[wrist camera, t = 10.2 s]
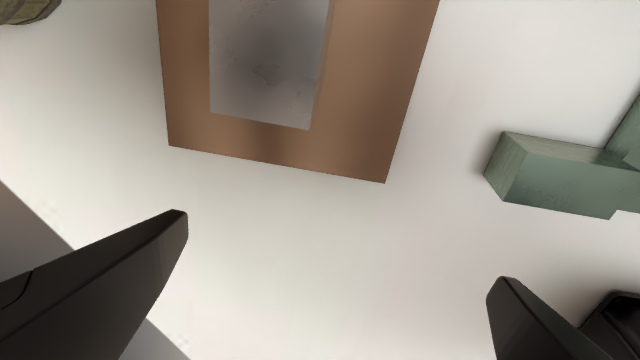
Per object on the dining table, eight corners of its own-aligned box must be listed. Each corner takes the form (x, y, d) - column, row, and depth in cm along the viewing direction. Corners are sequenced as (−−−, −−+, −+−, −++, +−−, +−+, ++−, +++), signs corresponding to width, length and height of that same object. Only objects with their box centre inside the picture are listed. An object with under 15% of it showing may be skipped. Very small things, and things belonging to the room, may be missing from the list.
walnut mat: (505, -231, 12) (512, -241, 12) (383, 179, 21) (384, 183, 20) (137, -299, 12) (127, -312, 11) (173, 141, 21) (168, 145, 20)
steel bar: (350, -89, 14) (351, -143, 9) (321, 92, 18) (309, 130, 13) (260, -107, 14) (206, -170, 9) (250, 79, 18) (210, 112, 13)
